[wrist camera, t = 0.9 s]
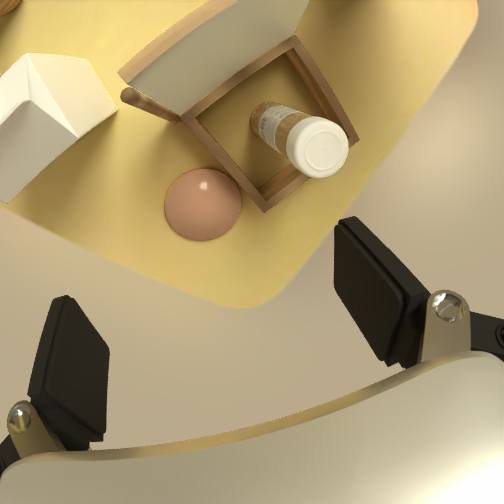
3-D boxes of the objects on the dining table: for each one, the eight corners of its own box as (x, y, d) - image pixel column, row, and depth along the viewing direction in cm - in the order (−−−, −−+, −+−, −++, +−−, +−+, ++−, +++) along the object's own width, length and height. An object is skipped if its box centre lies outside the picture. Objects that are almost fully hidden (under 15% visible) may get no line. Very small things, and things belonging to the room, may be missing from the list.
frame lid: (293, 34, 23) (286, 27, 23) (331, -43, 10) (319, -52, 10) (180, 115, 26) (174, 108, 25) (127, 84, 12) (116, 72, 12)
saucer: (207, 152, 32) (208, 153, 31) (255, 205, 37) (256, 208, 37) (149, 204, 33) (148, 206, 33) (199, 250, 39) (200, 253, 38)
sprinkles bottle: (281, 144, 33) (338, 186, 23) (244, 134, 32) (286, 172, 21) (293, 107, 31) (359, 132, 20) (256, 95, 30) (307, 112, 19)
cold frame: (255, 3, 23) (310, -34, 12) (344, 132, 34) (419, 170, 23) (139, 87, 26) (116, 96, 15) (248, 206, 37) (287, 274, 26)
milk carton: (119, 109, 27) (56, 157, 11) (68, 147, 27) (-19, 234, 12) (87, 58, 22) (-8, 50, 7) (37, 99, 23) (-77, 145, 8)
